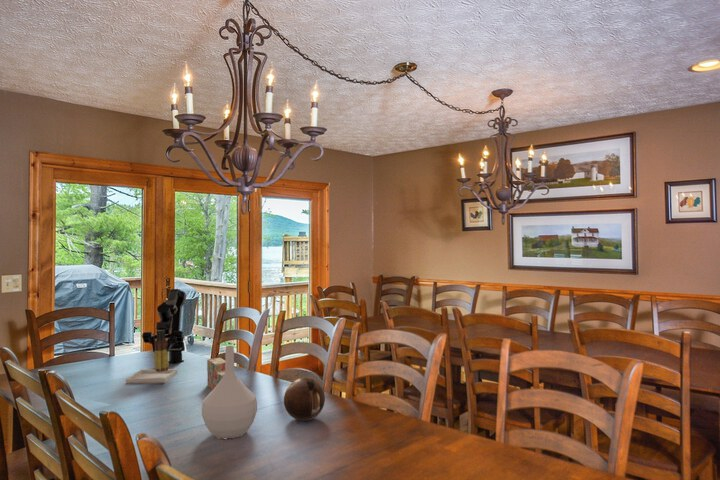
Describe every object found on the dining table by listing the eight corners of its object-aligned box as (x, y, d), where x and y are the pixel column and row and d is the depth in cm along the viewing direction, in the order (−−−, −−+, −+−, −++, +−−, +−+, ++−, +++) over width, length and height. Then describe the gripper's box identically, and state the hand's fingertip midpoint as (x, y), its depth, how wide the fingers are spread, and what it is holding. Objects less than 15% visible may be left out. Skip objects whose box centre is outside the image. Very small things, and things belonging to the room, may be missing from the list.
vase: (235, 420, 182) (235, 339, 182) (268, 432, 170) (268, 345, 170) (190, 435, 168) (190, 347, 168) (223, 449, 156) (222, 354, 156)
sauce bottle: (168, 368, 245) (168, 328, 245) (168, 371, 239) (169, 330, 240) (153, 369, 243) (154, 329, 243) (154, 372, 237) (154, 331, 237)
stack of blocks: (235, 395, 213) (235, 366, 214) (220, 397, 210) (220, 368, 210) (220, 383, 232) (220, 357, 232) (207, 385, 228) (207, 358, 228)
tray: (141, 373, 249) (141, 369, 249) (177, 373, 250) (177, 368, 250) (125, 383, 231) (125, 379, 231) (165, 383, 232) (165, 378, 232)
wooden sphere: (280, 415, 187) (280, 375, 187) (318, 410, 192) (318, 371, 192) (288, 429, 173) (288, 386, 173) (329, 423, 178) (329, 381, 178)
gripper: (143, 315, 243) (136, 342, 233) (182, 314, 246) (178, 341, 236) (147, 329, 251) (141, 355, 240) (185, 327, 254) (181, 354, 243)
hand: (160, 351), depth 240 cm, fingers closed on sauce bottle, 6 cm apart
